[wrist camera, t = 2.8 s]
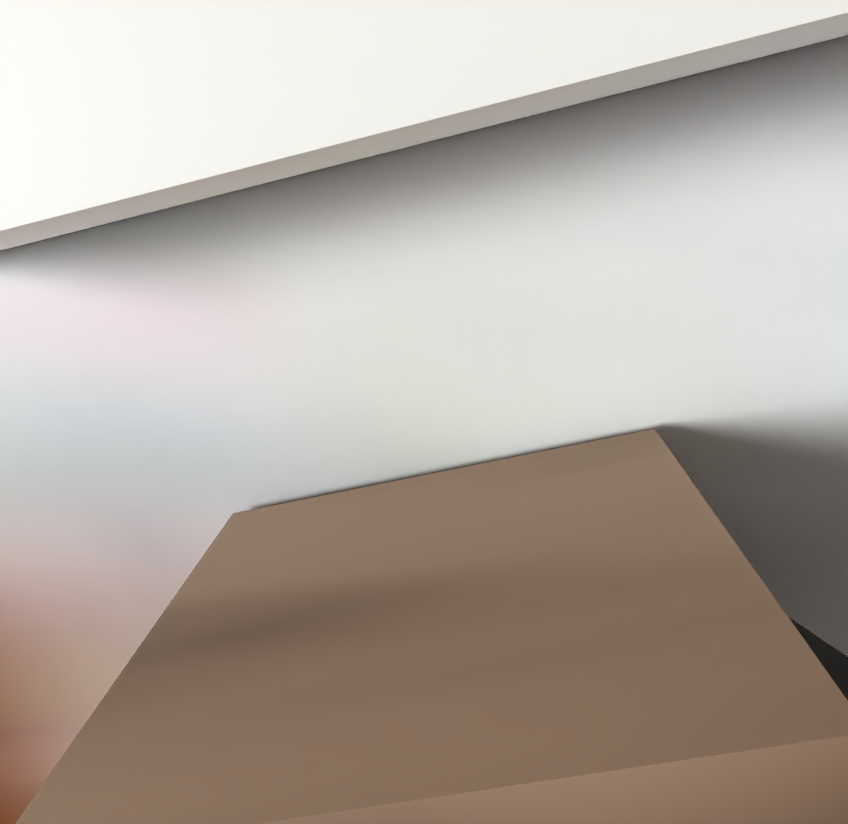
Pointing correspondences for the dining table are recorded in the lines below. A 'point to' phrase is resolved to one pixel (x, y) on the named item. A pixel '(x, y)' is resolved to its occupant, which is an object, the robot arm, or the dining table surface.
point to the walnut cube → (470, 665)
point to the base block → (317, 85)
